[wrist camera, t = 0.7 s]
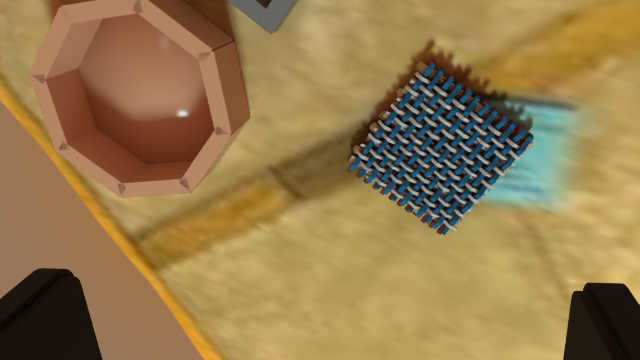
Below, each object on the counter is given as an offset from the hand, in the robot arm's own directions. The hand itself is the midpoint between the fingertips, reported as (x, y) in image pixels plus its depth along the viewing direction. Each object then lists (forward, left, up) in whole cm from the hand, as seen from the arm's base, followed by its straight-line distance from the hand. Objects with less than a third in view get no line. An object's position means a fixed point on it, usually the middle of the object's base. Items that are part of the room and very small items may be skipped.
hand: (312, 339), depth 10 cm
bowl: (+13, -13, -31) cm, 36 cm away
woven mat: (+3, +7, -31) cm, 32 cm away
